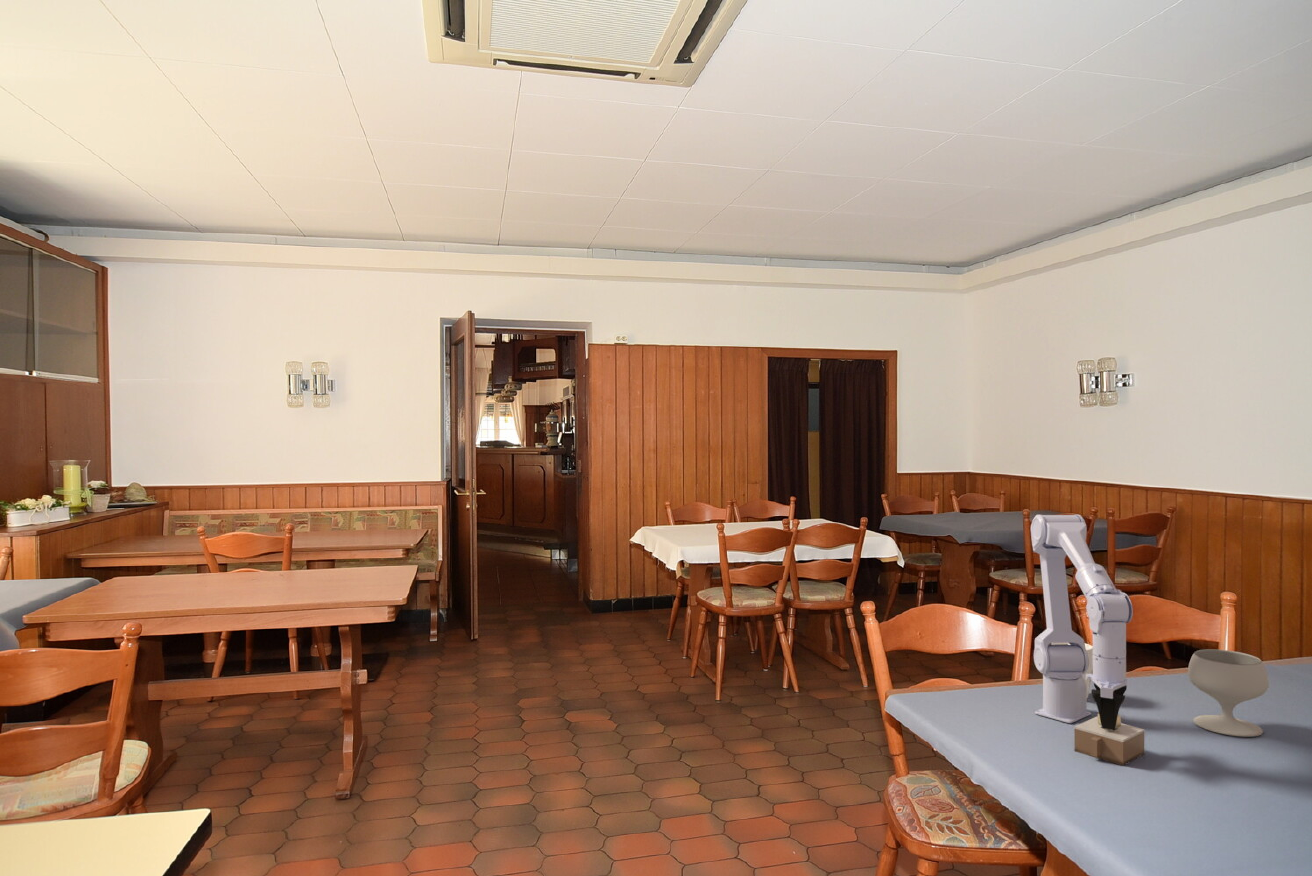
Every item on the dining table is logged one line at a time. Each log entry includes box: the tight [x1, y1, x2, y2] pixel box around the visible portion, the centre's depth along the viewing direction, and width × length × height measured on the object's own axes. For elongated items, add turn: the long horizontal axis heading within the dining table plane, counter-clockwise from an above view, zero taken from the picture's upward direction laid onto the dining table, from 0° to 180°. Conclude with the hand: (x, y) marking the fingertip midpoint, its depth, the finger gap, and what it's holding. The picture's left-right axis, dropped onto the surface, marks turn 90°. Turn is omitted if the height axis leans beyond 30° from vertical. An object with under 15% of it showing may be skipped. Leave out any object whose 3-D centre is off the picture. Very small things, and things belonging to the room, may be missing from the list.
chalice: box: [1187, 648, 1270, 738], centre depth 172 cm, size 14×14×15 cm
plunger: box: [1097, 711, 1122, 731], centre depth 160 cm, size 4×4×6 cm
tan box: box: [1074, 716, 1145, 766], centre depth 159 cm, size 11×9×5 cm
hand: (1109, 724), depth 160 cm, fingers closed on plunger, 4 cm apart
